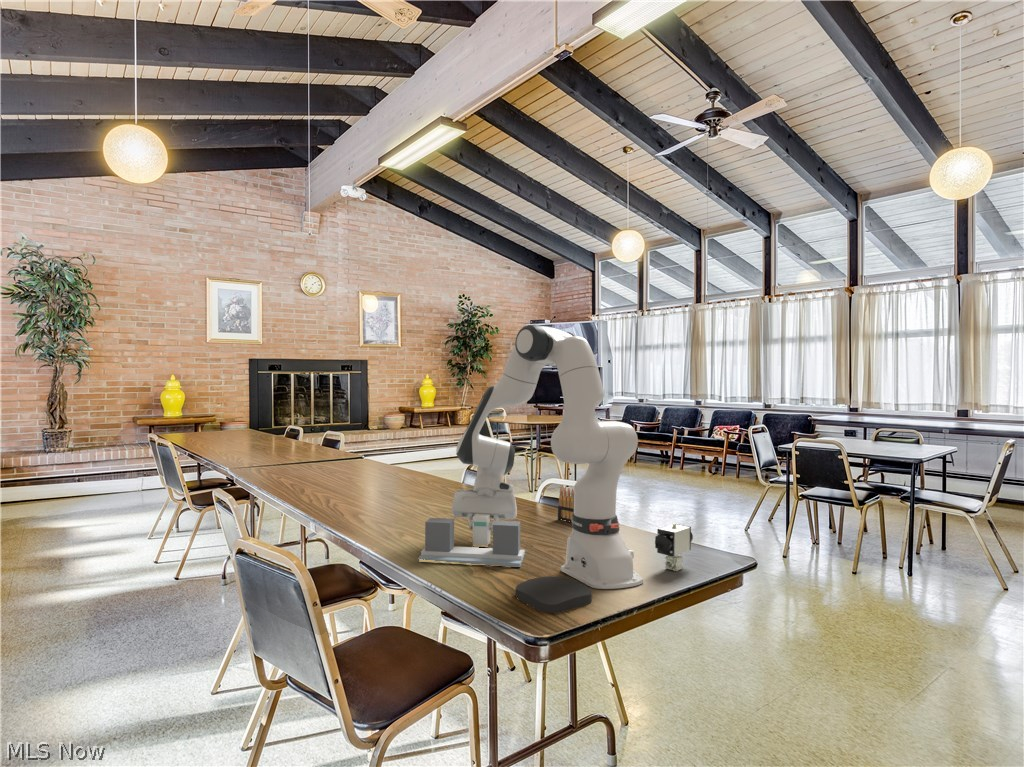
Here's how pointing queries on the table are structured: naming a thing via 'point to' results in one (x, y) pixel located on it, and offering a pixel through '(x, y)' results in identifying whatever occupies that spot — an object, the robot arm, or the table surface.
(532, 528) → the table surface
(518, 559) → the twin block stand
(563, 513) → the ammunition clip
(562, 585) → the media streaming box
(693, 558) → the table surface
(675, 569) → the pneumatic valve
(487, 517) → the block
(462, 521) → the table surface
